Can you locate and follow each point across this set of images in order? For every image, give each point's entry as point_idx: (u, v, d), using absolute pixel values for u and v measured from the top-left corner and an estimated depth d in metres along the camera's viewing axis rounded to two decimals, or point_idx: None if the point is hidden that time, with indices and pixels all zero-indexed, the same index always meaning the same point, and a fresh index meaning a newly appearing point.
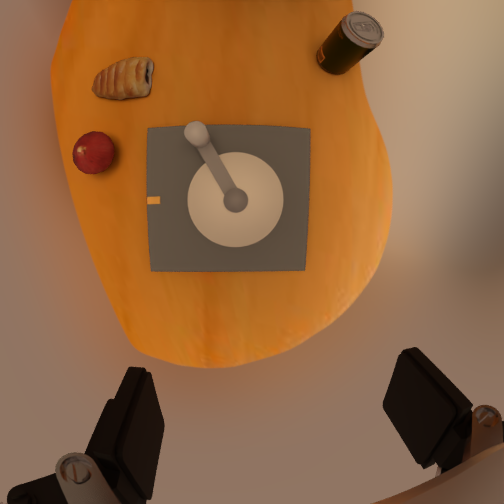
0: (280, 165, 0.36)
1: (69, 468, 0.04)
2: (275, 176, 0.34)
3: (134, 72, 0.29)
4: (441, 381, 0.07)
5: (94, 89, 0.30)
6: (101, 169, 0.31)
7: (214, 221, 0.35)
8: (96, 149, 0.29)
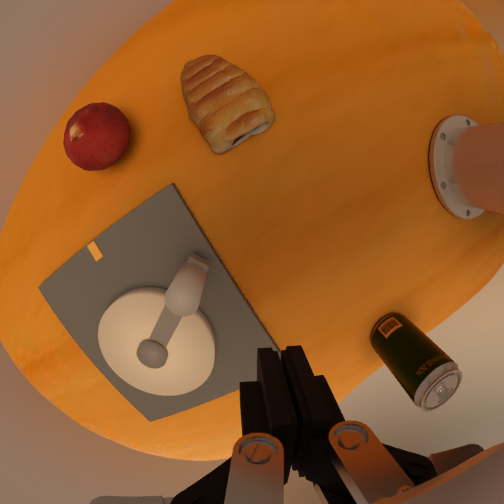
0: (226, 362, 0.28)
1: (248, 451, 0.05)
2: (207, 375, 0.26)
3: (236, 116, 0.20)
4: (306, 384, 0.08)
5: (186, 67, 0.20)
6: (80, 167, 0.19)
7: (117, 341, 0.24)
8: (91, 150, 0.17)
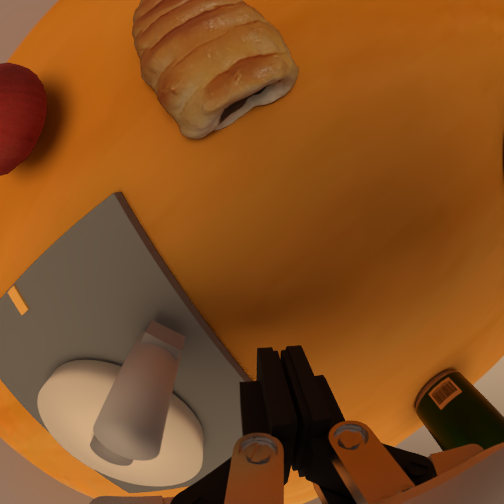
0: (220, 451, 0.17)
1: (248, 451, 0.05)
2: (193, 473, 0.15)
3: (227, 63, 0.09)
4: (306, 384, 0.08)
5: (142, 1, 0.09)
6: None
7: (65, 426, 0.13)
8: None
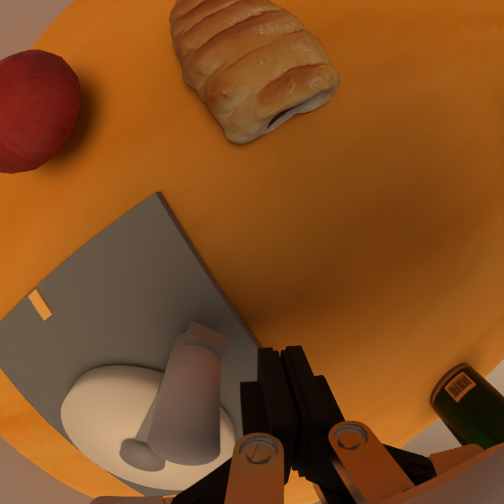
0: None
1: (248, 451, 0.05)
2: None
3: (279, 71, 0.10)
4: (306, 384, 0.08)
5: (180, 0, 0.09)
6: None
7: (90, 435, 0.13)
8: None
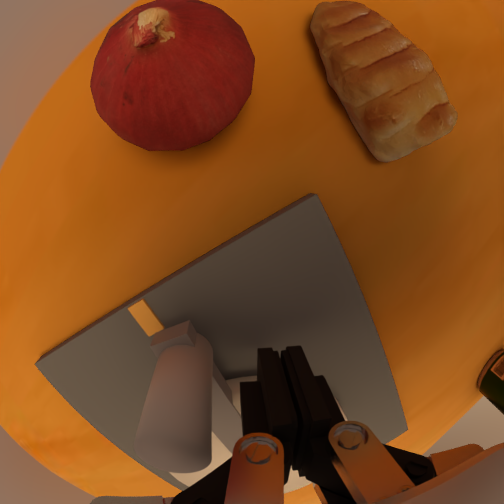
0: None
1: (248, 451, 0.05)
2: None
3: (428, 106, 0.10)
4: (306, 384, 0.08)
5: (324, 9, 0.09)
6: (128, 140, 0.08)
7: None
8: (187, 87, 0.06)
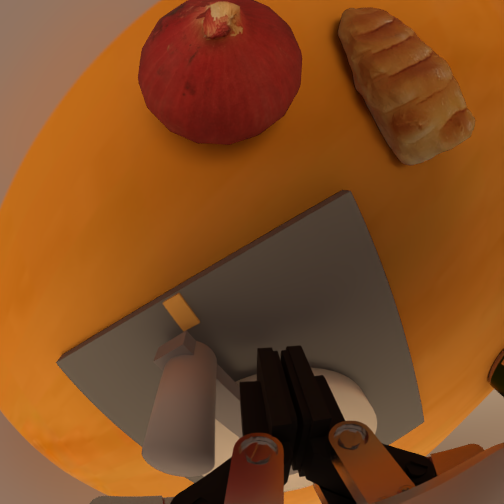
0: None
1: (248, 451, 0.05)
2: (369, 410, 0.14)
3: (449, 113, 0.10)
4: (306, 384, 0.08)
5: (352, 15, 0.10)
6: (178, 131, 0.09)
7: None
8: (251, 82, 0.07)
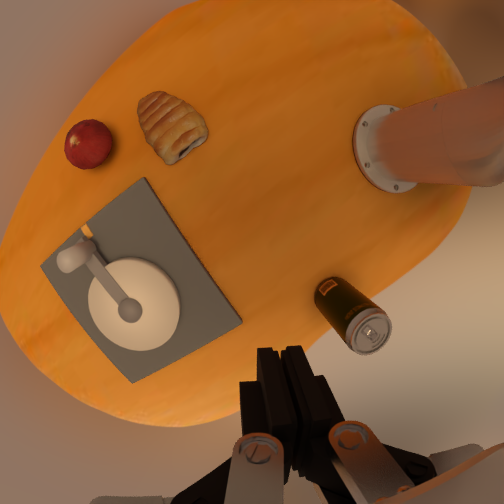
0: (190, 320, 0.35)
1: (248, 451, 0.05)
2: (163, 281, 0.31)
3: (178, 136, 0.28)
4: (306, 384, 0.08)
5: (140, 103, 0.28)
6: (76, 166, 0.26)
7: (118, 329, 0.32)
8: (85, 153, 0.24)
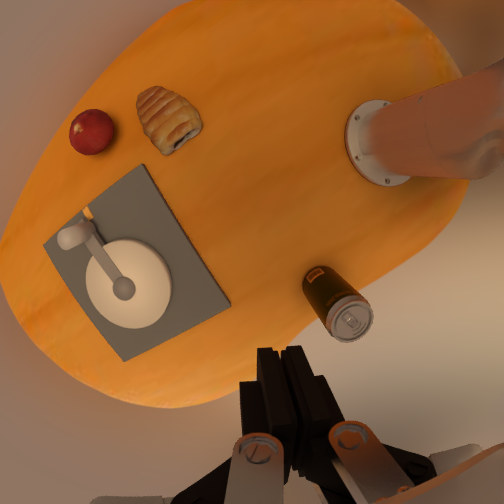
0: (181, 301, 0.37)
1: (248, 451, 0.05)
2: (156, 262, 0.33)
3: (173, 128, 0.29)
4: (306, 384, 0.08)
5: (138, 98, 0.29)
6: (80, 152, 0.28)
7: (112, 307, 0.34)
8: (88, 140, 0.26)
